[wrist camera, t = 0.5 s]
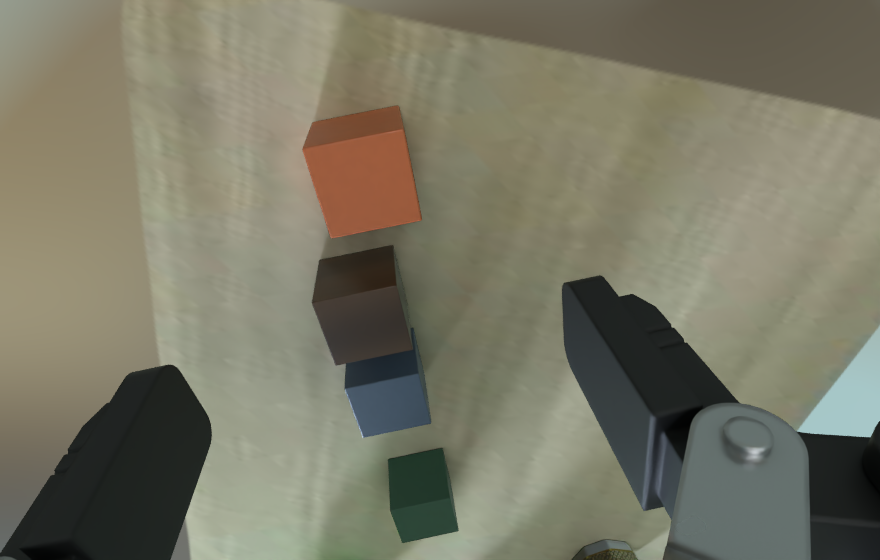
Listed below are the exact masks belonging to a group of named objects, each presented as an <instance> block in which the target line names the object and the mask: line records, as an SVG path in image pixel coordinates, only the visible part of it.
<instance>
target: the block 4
mask: <svg viewBox="0 0 880 560" xmlns="http://www.w3.org/2000/svg"><path fill="white" fill-rule="evenodd" d="M388 468H389V492H390V511H391V514H392V517H393V519H394V522H395V525H396V527H397V530H398V533H399V535H400V538H401V541H402V543H405V542H410V541H414V540H419V539H424V538H428V537H433V536H438V535H442V534H447V533H452V532H456V531H458V524H457V518H456V512H455V506H454V500H453V493H452V487H451V481H450V477H449V473H448V469H447V465H446V461H445V456H444V452H443V449H442V448H440V449H436V450H431V451H426V452H421V453H417V454H412V455H407V456H402V457H398V458H393V459H388Z"/></svg>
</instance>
